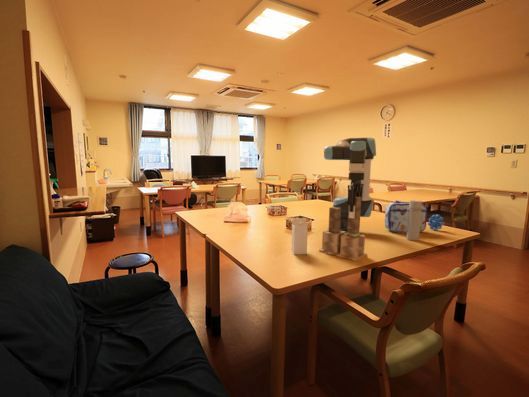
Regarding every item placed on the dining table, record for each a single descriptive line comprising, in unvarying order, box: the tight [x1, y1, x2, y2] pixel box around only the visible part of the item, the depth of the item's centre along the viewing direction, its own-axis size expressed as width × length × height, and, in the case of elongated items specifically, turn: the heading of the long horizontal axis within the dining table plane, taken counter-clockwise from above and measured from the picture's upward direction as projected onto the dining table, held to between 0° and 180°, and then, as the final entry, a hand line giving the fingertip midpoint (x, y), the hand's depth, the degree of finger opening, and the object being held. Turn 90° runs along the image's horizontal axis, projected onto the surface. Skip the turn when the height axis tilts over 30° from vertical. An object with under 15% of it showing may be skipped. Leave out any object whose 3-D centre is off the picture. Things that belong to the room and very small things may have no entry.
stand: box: [318, 229, 368, 262], centre depth 153 cm, size 22×12×11 cm, turn 47°
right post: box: [346, 196, 361, 238], centre depth 147 cm, size 5×5×23 cm
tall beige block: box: [404, 199, 423, 242], centre depth 179 cm, size 9×8×25 cm
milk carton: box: [291, 217, 309, 255], centre depth 154 cm, size 7×7×19 cm
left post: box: [328, 206, 341, 234], centre depth 156 cm, size 5×5×23 cm
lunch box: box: [384, 199, 428, 234], centre depth 199 cm, size 28×10×22 cm, turn 88°
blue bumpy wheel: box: [427, 214, 445, 231], centre depth 204 cm, size 12×7×12 cm, turn 23°
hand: (354, 217), depth 147 cm, fingers closed on right post, 4 cm apart
